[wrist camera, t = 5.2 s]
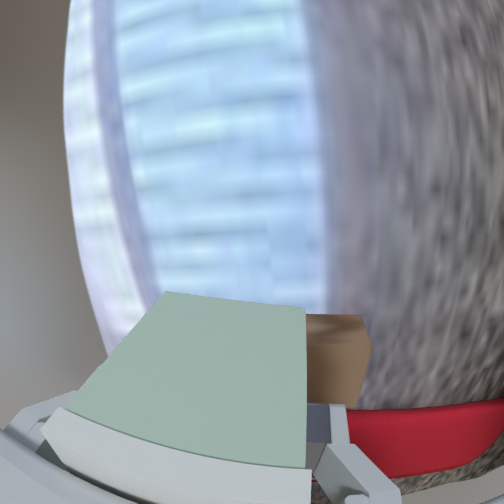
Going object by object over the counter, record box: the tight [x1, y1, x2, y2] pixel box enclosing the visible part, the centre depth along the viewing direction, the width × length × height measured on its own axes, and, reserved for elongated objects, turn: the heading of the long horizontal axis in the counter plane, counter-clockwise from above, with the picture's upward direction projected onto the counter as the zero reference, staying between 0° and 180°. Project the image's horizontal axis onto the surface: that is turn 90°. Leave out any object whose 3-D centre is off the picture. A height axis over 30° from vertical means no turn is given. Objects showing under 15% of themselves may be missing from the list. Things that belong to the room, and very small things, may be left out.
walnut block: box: [306, 314, 372, 408], centre depth 24 cm, size 7×7×5 cm
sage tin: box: [40, 291, 312, 504], centre depth 8 cm, size 5×5×7 cm
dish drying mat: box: [311, 398, 504, 482], centre depth 29 cm, size 16×41×4 cm, turn 84°
